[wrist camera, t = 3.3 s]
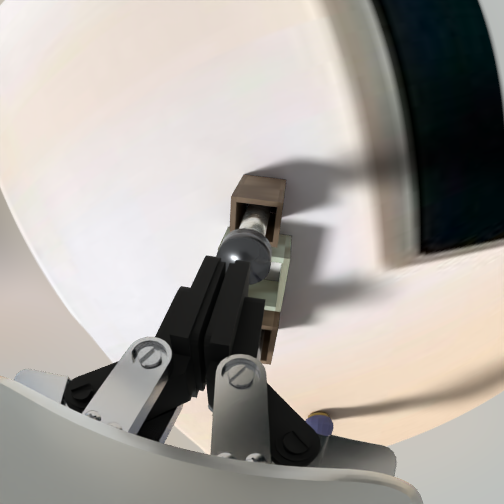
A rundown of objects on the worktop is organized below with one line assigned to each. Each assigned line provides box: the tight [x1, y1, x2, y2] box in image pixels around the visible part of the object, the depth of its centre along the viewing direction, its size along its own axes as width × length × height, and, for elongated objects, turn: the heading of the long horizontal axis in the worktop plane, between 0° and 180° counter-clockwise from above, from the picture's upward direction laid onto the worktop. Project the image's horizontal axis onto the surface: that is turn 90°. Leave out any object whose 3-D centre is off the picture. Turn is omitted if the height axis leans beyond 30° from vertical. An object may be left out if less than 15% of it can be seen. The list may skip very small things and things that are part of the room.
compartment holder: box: [218, 175, 292, 365], centre depth 21 cm, size 5×14×4 cm, turn 176°
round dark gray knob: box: [216, 204, 272, 285], centre depth 15 cm, size 2×2×6 cm
